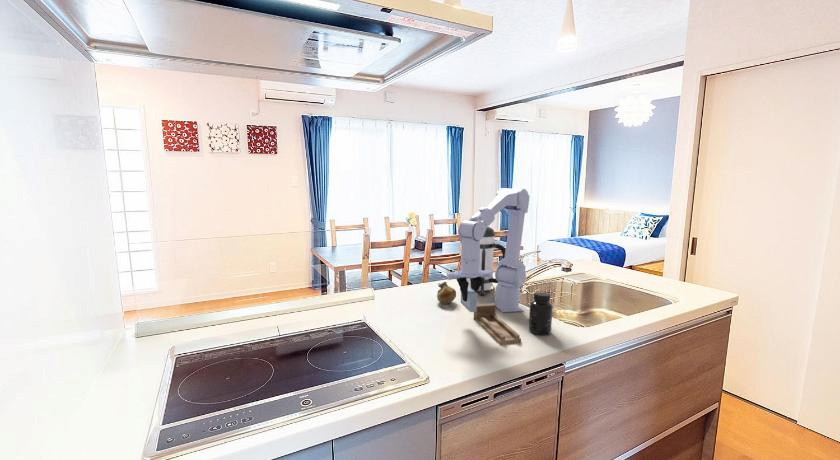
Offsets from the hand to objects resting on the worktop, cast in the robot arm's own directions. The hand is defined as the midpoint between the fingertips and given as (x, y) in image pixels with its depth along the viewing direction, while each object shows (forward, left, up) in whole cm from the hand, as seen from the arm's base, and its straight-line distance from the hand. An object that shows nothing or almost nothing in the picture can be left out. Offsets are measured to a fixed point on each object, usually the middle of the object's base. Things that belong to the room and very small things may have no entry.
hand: (468, 300), depth 123 cm
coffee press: (-35, +19, -9) cm, 41 cm away
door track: (+4, +8, -9) cm, 13 cm away
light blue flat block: (0, 0, -2) cm, 2 cm away
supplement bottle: (+8, +21, -9) cm, 24 cm away
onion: (-23, 0, -9) cm, 25 cm away
